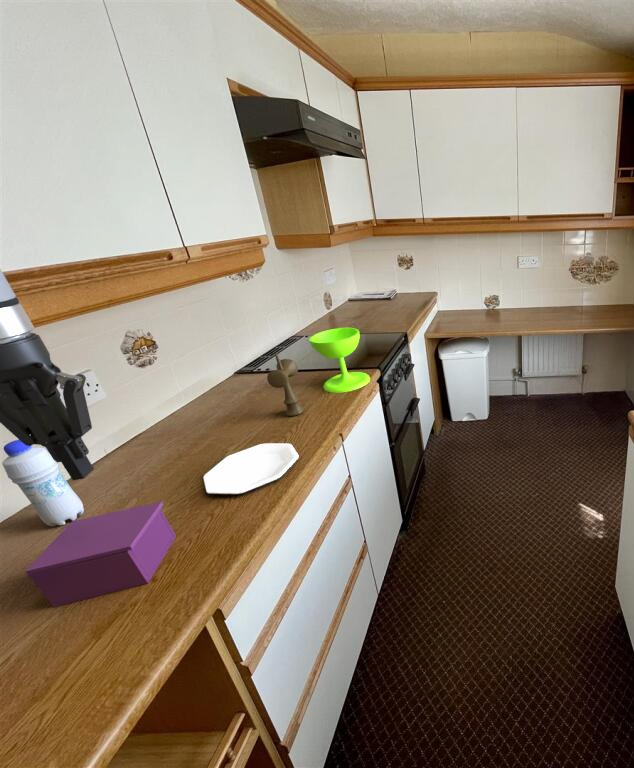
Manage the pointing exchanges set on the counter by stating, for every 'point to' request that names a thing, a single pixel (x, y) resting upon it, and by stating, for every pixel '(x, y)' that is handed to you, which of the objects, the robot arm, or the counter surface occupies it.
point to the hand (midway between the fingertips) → (83, 474)
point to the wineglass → (340, 357)
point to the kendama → (286, 384)
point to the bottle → (42, 483)
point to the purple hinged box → (108, 568)
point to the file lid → (96, 537)
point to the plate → (250, 468)
